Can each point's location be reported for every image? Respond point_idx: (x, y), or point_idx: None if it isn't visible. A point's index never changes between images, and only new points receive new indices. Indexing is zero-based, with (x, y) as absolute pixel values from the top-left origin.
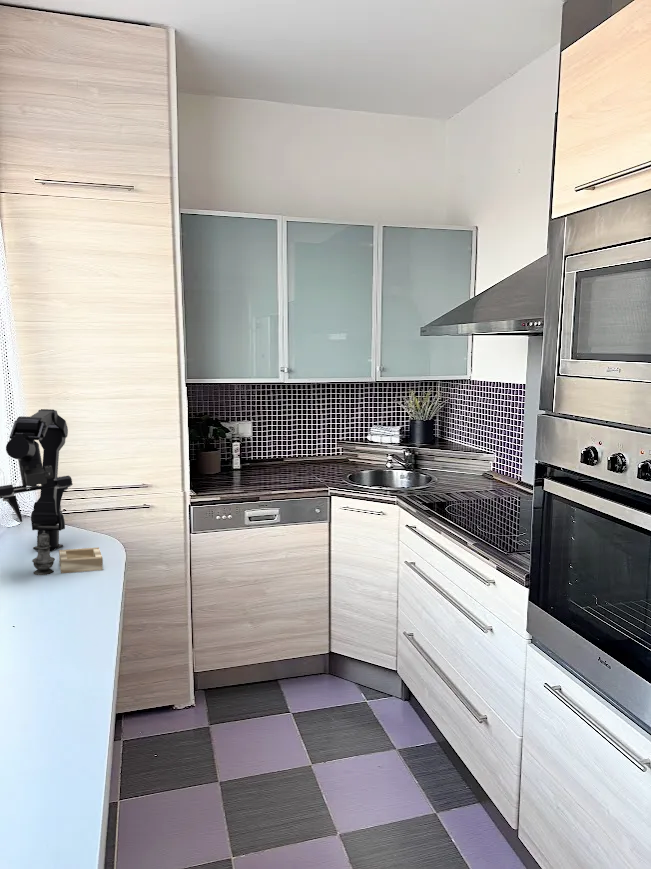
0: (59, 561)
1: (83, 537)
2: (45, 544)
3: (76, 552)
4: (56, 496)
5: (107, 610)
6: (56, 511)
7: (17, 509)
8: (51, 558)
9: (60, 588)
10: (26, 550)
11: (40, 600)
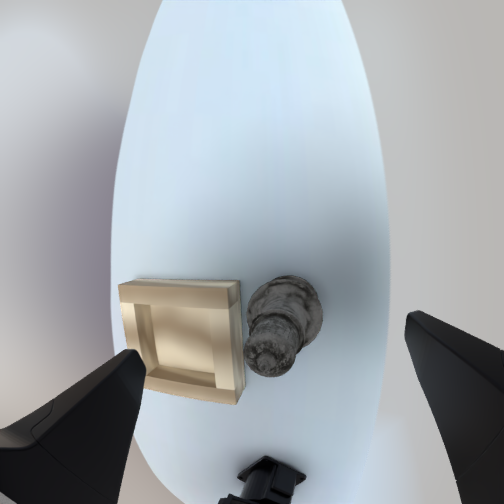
0: (242, 372)
1: (201, 498)
2: (267, 320)
3: (189, 380)
4: (39, 441)
5: (161, 27)
6: (129, 373)
7: (485, 359)
8: (256, 310)
9: (240, 144)
10: (321, 474)
11: (288, 69)
